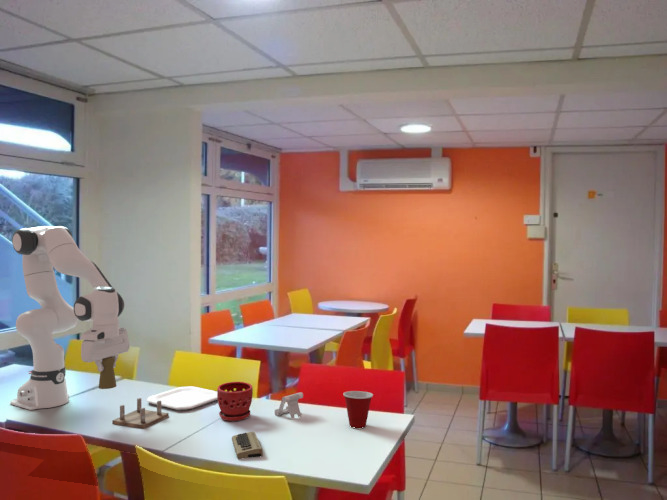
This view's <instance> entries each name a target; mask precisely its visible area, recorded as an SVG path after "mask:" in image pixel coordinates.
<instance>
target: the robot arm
mask: <svg viewBox="0 0 667 500" xmlns="http://www.w3.org/2000/svg"><path fill="white" fill-rule="evenodd" d="M11 242H12V247H13V249H14V251H15V252H16V253H17V254H19V255H22V259H21V260H22V273H23V279H24V284H25V289H26V293H27V296H28V297H29V298H30V299H33V300H35V301H36V302H37V303H38V304H39V306H40V307H41V308H35V309H29V310H27V311H25V312H23V313H20V314H19V315H18V316H17V318H16V321H15V329H16V331H17V333H18V335H20V337H21V336H22V338H24V339H25V340H27V343H28V344H29V345H30V347H31V351H32V359H33V360H32V362H33V363H32V364H33V369H32V370H29V371H28V375H30V377H29V379H28V380H27V381H26V382H24V384H22V385H21V386H20V387H18V389H17V394H16V395H17V397H16V398H15V399H12V400H11V401H10V405H12V406H16V407H20V408H23V409H25V410H29V411H31V410H32V411H34V410H37V409H38V410H39V409H47V408H48V409H50V408H54V407H55V408H56V407H59V406H63V405H65V404H67V403H69V401H70V399H69V398H70V395H69V394H68V388H67V381H66V371H67V370H66V366H65V350H64V347H63V346H62V345H61V344H58V343H56V342H55V340H54V334H59V333H65V332H67V331H69V330H72V329H73V328H75V327H76V326H77V325H78V322H79V321H81V322H91V321H92V327H91V328H89V329H88V330H86V331H85V332H83V333H82V334H81V336H80V337H81V340H82V342H81V344H80V358H81V360H82V362H84V363H93V362H94V363H95V365H96V367H97V372H101V371H104V366H102V363H101V362H102V359H104V358H108V357H111V356H112V357H114V359H115V363H114V365H113V367H114V368H116V365H117V361H118V359H119V355H121V354H125V353H128V352H129V350H130V339H129V335H128V331H127V329H126V328H125V327H120V320H119V317H120V316H121V314H122V313H123V312H124V309H125V301H124V299H123V296H122V295H121V294H120V293H118V291H117V289H116V288H115V287H113V286H112V285H111V283H110V282H109V280H108V279H107V278H106V276H105V275H104V273H103V272H102V270H101V269H100V267H98V265H97V264H96V263H95V262H94V261H92V260H91V259H89V258H88V257H87V256H86V255H85V254H84V253H83V252H82V251H81V249H79V246H78V245H77V242H76V241H75V240H74V238H73V234H72V231H70V229H69V228H68V227H66V226H62V225H57V226H55V225H52V226H51V225H41V226H34V227H28V228H27V227H24V228H20V229H17V230H16V231H15V232H14V233H13V234H12V240H11ZM54 269H55V270H54ZM55 271H56V272H57V273H61V274H63V275H65V276H72V277H76V278H80V279H83V280H85V281H87V282H88V283H89V284H90V285H91V286H92V287H93V290H92V291H91V292H89V293H87V294H84V295H81V296H78V297H77V298H76V300H75V301H74V304H73V306H71V305H70V304H69V303H68V302H67V301H66V300H65V299H64V297H63V296H62V294H61V291H60V290H59V287H58V283H57V278H56V274H55Z"/></svg>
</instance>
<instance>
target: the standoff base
mask: <svg viewBox="0 0 667 500" xmlns="http://www.w3.org/2000/svg"><path fill="white" fill-rule="evenodd" d="M125 411H126V409H125V405H124V404H121V405H119V417H117V418H114V419H113V420H112V425H119V426H125V427H130V428H131V427H132V428H137V429H146V428H148V427H150V426H152V425H154V424H156V423H158V422H160V421H162V420H164V419H167V418H168V417H169V416H170V415H169V412H162V406H161V401H157V405H156V411H154V410H147V409H146V407H142V398H141V397H137V398H136V409H135V410H133V411H131V412H128V413H126V414H125Z"/></svg>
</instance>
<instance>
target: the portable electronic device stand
mask: <svg viewBox="0 0 667 500" xmlns="http://www.w3.org/2000/svg"><path fill="white" fill-rule="evenodd" d="M281 398H282V399H281V402H280V404H279V408H277V409H274V415H275V416H276V417H278V416H279V417H280V416H281V415H285V414H288V412H289V416H290V419H291V418H294V419H295V415H297V417H298V418H300V417H302V414H301V413H302V412H301V410H300V405H299V402H298V401H299V399H303V398H304V393H303V392H302V391H301V392H296V393H294V394H290V395H286V396H282V397H281ZM285 403H287V406H285ZM299 416H300V417H299Z"/></svg>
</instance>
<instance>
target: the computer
mask: <svg viewBox="0 0 667 500" xmlns="http://www.w3.org/2000/svg"><path fill="white" fill-rule="evenodd" d="M231 441H232V444H233V449H234V452H235V454H236V458H237V459H238V460H241V459H242V458H244V459H252V458H258V457H260V456H261V457H263V456H264V453H263V449H262V446H261V444H260V441H259V438H258V437H257V434H256V432H255V431H248V432H242V433H239V434H235V435H232V436H231Z"/></svg>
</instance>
